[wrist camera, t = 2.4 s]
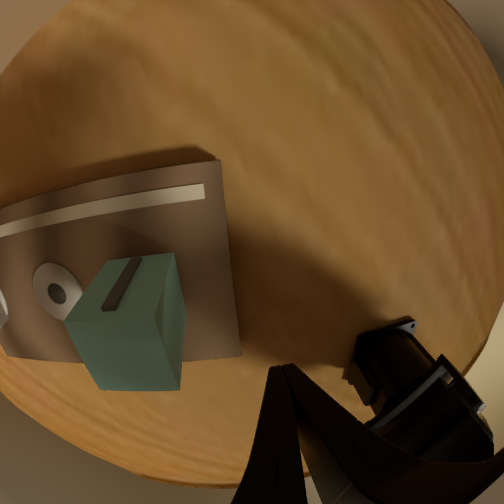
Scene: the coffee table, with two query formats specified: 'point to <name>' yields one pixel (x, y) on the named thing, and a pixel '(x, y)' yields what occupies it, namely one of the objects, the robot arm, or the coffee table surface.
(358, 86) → the coffee table surface
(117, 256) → the board
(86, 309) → the sage green box
